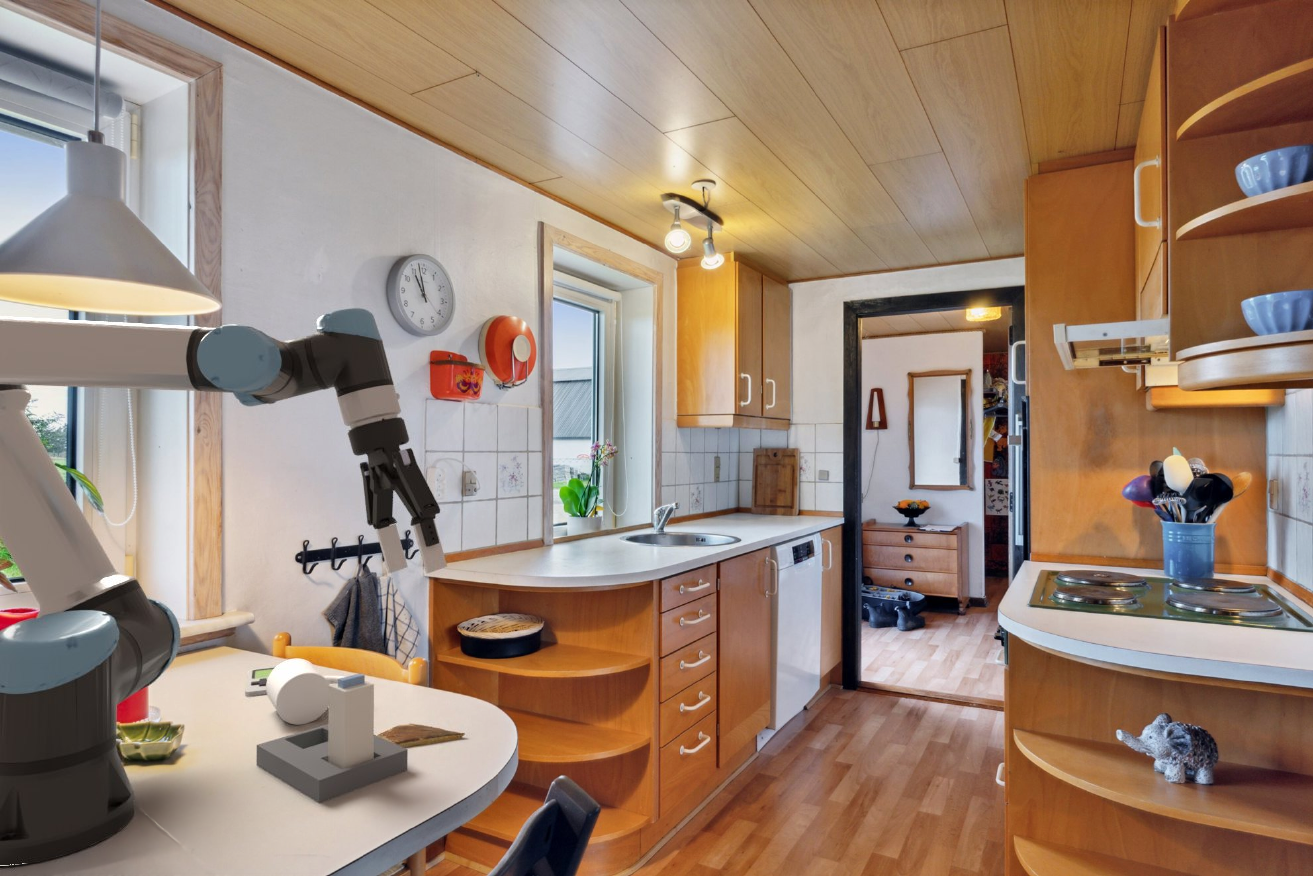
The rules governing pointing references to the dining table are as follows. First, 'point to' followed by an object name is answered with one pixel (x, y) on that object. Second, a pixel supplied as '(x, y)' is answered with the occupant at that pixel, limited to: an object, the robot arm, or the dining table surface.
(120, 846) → the dining table surface
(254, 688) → the handheld gaming console
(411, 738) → the shard
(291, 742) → the panel
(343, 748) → the plug
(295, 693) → the mug
